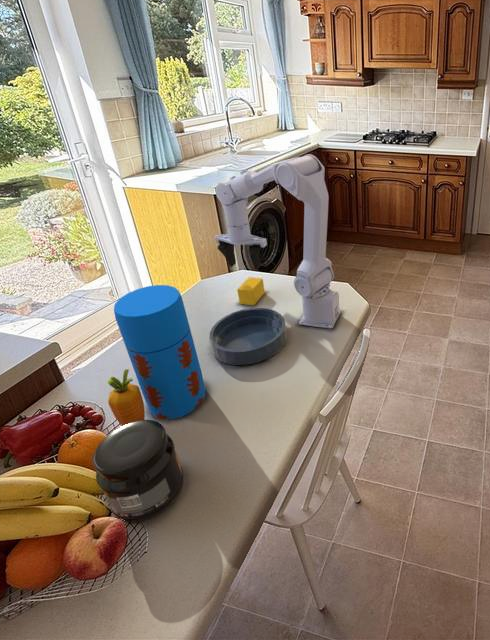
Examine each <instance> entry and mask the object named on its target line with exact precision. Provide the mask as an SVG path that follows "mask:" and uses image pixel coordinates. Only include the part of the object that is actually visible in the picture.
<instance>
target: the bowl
mask: <svg viewBox="0 0 490 640" xmlns="http://www.w3.org/2000/svg"><path fill="white" fill-rule="evenodd" d="M287 334H288V333H287V326H286V321H285V318H284V316H283V315H282V314H281V313H279V311H276V310H273V309H270V308H265V307H250V308H243V309H240V310H237V311H234V312H231V313H229V314H227V315H225V316H223V317H221V318H220V319H219V320H218V321H217V322H216V323H215V324H214V325H213V326H212V327H211V329H210V331H209V343H210V348H211V352H212V353H213V355H214V358H216V359H217V360H219V361H220V362H222V363H225V364H227V365H235V366H245V365H246V366H247V365H252V364H256V363H259V362H262V361H264V360H267V359H269V358H271V357H272V356H274V355H276V354H277V353H278V352H279V351H280V350H281V349H282V348H283V346H284V345H285V343H286V341H287V337H288V335H287Z"/></svg>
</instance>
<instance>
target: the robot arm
mask: <svg viewBox="0 0 490 640" xmlns="http://www.w3.org/2000/svg"><path fill="white" fill-rule="evenodd" d="M325 169H326V167H325V166H324V165H323V164H322V162H321V161H320V160H319V158H318V157H316V156H315V155H314V154H310V153H309V154H304V155H303V156H298V157H297V156H296V157H293V158H289V159H285V160H281V161H278V162H274V163H272V164H269V165H268V166H266V167H265V168H263V169H261V170H259V171H255V170H248V169H243V170H241V171H240V172H239V173H240V174H239V175H237V176H236V175H234V176H231V177H229V180H227V181H224V182H219V183H218V184H216V186H215V189H214V190H215V195H216V197H217V199H218V201H219V202H220V203H221V204H222V206H223V211H224V216H225V217H224V218H225V223H226V228H227V233H218V234H217V235H215V236H214V242H215V243H216V244H219V245H218V246H217V250H218V251H219V252H220V253H221V254H222V255H223V257H224V258H225V259H226V261H227V263H228V265H229V267H230V268H231V267H232V268H233V267H234V266H235V265H236V263H237V261H236V253H235V245H236V246H243V245H245V246H252V247H251V248H249V249H248V252H249V253H250V255H251V258H252V264H253V268H254V270H258V269H260V268H261V261H262V256H263V253H264V250H265V247H266V246H268V241H267V238H265V237H260V236H257V235H253V234H251V233H252V232H251V227H250V221H249V215H248V209H247V208H248V207H247V205H248V203H249V201H248V198H249V197H251V196H253V195H256V194H258V193H260V192H261V191H262V190H263V188H264V185H266V184H268V183H270V182H274V181H275V183H276V184H278V185H280V186H281V187H282V188H283V189H284V190H286V192H288V193H289V194H291V195H292V196H293V197H295V198H296V199H297V201H301V202H303V204H304V208H303V210H304V211H303V213H304V214H303V256H302V258H303V259H302V261H301V263H300V264H299V266H298V268H297V270H296V276H295V278H294V279H293V285H294V289H295V291H296V292H297V293H298V294H299V296H300V297H301V300H302V301H301V302H302V312H303V315H302V316H301V318H300V320H299V322H298V325H299V326H308V327H316V328H324V329H333V328H334V326H335V324H336V322H337V320H338V319H339V316H340V314H341V310H340V295H339V292H338V291H335V290H332V289H330V288H331V282H333V280H334V278H335V272H334V269H333V266H332V264H333V263H332V261H331V260H330V259H329V258H328V257H326V256H327V236H328V218H329V217H328V216H329V200H330V199H329V198H330V197H329V196H330V195H329V192H328V187H327V185H326V180H325V171H326V170H325Z"/></svg>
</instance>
